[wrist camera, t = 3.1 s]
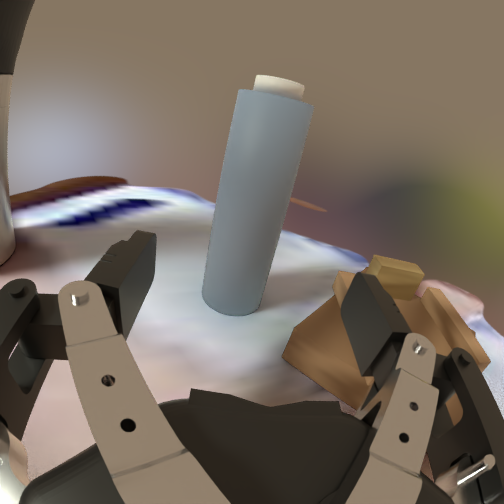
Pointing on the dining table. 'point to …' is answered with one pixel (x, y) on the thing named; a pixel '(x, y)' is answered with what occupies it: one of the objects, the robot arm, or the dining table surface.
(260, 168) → the flask
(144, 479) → the robot arm
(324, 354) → the display stand
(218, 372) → the dining table surface
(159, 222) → the dining table surface
